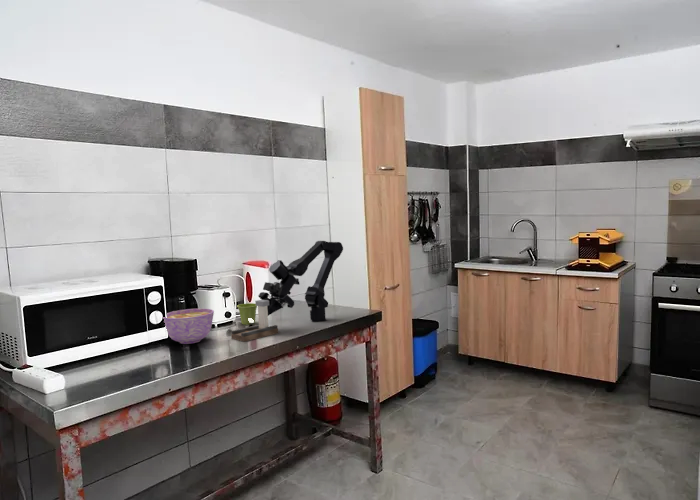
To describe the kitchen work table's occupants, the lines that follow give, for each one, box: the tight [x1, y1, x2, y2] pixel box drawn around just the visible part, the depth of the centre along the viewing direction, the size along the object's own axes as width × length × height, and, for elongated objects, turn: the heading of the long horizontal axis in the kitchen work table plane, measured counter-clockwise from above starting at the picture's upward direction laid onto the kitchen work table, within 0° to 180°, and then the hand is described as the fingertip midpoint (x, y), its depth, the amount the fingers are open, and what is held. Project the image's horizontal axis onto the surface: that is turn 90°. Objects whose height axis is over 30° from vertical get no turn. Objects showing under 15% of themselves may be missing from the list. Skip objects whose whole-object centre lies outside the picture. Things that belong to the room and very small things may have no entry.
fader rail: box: [230, 324, 279, 342], centre depth 209 cm, size 17×9×3 cm, turn 136°
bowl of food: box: [162, 308, 215, 345], centre depth 205 cm, size 20×20×12 cm
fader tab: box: [254, 299, 270, 328], centre depth 212 cm, size 3×5×12 cm, turn 46°
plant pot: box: [236, 302, 258, 326], centre depth 235 cm, size 9×9×9 cm
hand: (265, 315), depth 213 cm, fingers closed, pressing on fader tab
